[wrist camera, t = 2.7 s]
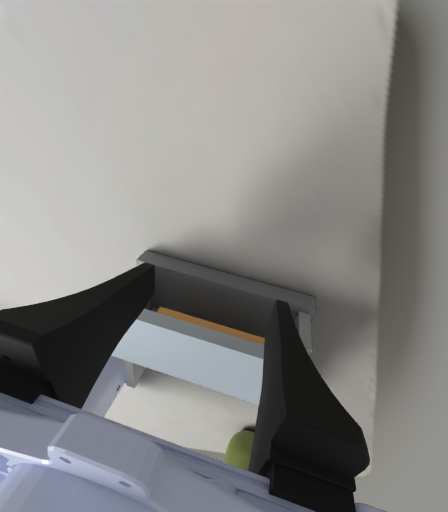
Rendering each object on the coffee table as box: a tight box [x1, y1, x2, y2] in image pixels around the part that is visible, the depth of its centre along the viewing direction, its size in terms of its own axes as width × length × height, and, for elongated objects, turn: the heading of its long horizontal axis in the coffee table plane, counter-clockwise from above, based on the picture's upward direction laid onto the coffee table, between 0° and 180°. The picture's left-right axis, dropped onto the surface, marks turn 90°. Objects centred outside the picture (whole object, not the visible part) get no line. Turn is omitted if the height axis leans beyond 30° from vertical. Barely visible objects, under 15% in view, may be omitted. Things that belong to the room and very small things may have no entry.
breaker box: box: [124, 250, 317, 388], centre depth 21 cm, size 12×14×5 cm
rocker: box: [157, 307, 265, 345], centre depth 20 cm, size 7×10×1 cm
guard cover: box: [112, 309, 264, 405], centre depth 17 cm, size 5×13×1 cm, turn 81°
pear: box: [224, 430, 255, 471], centre depth 28 cm, size 6×5×10 cm
